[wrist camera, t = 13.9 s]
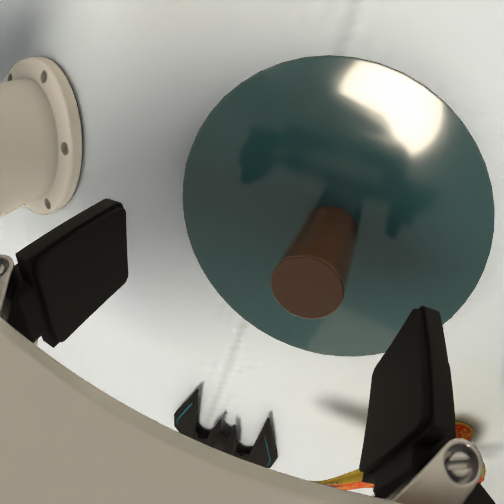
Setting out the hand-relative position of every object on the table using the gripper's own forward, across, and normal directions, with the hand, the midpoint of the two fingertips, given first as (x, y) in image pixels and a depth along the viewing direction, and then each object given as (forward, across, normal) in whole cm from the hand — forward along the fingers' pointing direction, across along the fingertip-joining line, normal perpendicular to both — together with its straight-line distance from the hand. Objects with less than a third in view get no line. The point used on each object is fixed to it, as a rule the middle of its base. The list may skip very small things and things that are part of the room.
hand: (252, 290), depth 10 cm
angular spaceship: (+7, 0, +24) cm, 25 cm away
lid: (+6, -2, 0) cm, 6 cm away
